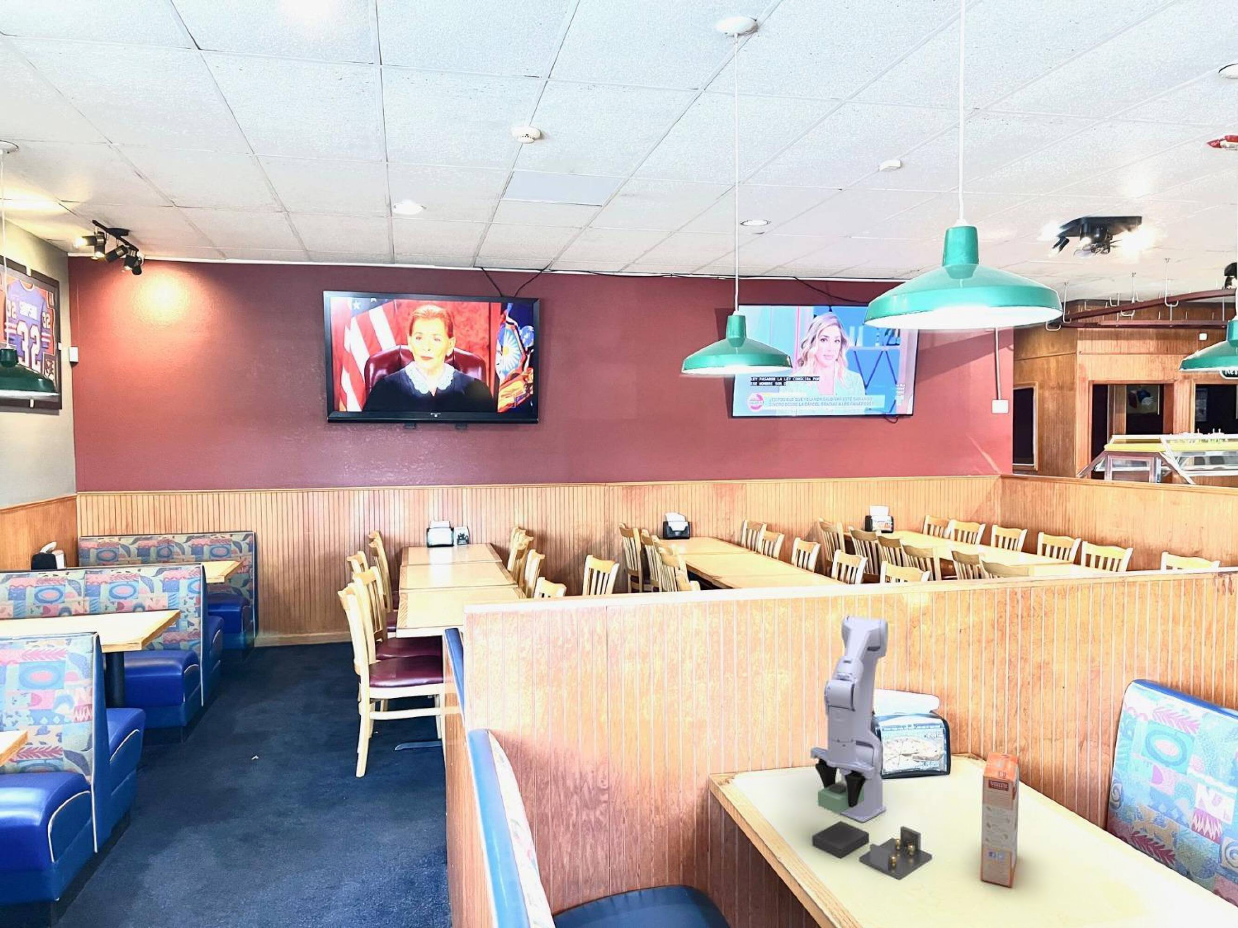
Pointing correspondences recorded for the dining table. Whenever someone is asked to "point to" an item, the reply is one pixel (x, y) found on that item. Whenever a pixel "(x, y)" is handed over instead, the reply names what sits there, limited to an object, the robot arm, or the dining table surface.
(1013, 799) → the cracker box
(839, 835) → the pad
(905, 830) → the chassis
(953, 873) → the dining table surface
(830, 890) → the dining table surface
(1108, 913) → the dining table surface
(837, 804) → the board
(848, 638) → the robot arm
